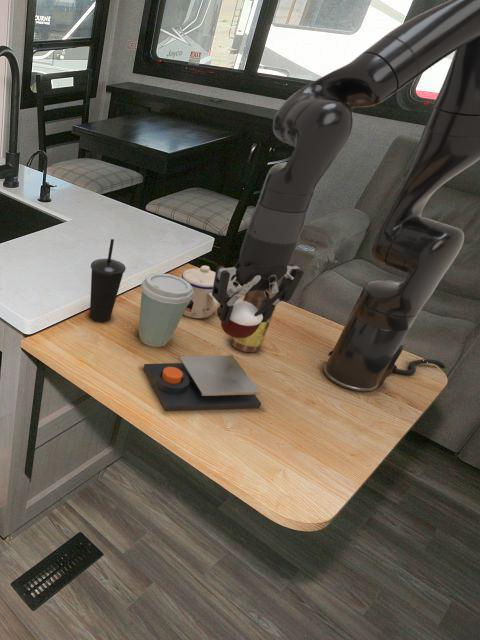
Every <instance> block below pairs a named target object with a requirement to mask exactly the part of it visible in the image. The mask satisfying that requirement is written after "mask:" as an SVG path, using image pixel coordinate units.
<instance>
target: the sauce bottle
mask: <svg viewBox="0 0 480 640" xmlns="http://www.w3.org/2000/svg"><path fill="white" fill-rule="evenodd" d="M243 297H244V298H243V300H242V301H247V302H249V303H251V304H253V305H254V306H255V307H256V308H257V309H258V310H259V308H260V305H261V302H262V300H263V299H266V297H265V295H264V291H260V290H254V291H248V292H247V293H246V294H245V295H244V296H243ZM276 307H277V304H276V305H275V308H274V310H273V313H272V315H271V317H270V319H268V320H267V322H260V325H259V327H258V329H257V330H256V331H255V332H254V333H253V334H252V335H251V336H249V337H246V338H234V337H232V336H230V337H231V338H230V345H231V346H232V347H233V348H235V349H236V350H238V351H240V352H243V353H256V352H258V351H259V350H260V348H261V346H262V345H263V343H264V341H265V337H266V334H267V331H268V330H269V326H270V323H271V321H272V318H273V315H274V313H275V310H276Z"/></svg>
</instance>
